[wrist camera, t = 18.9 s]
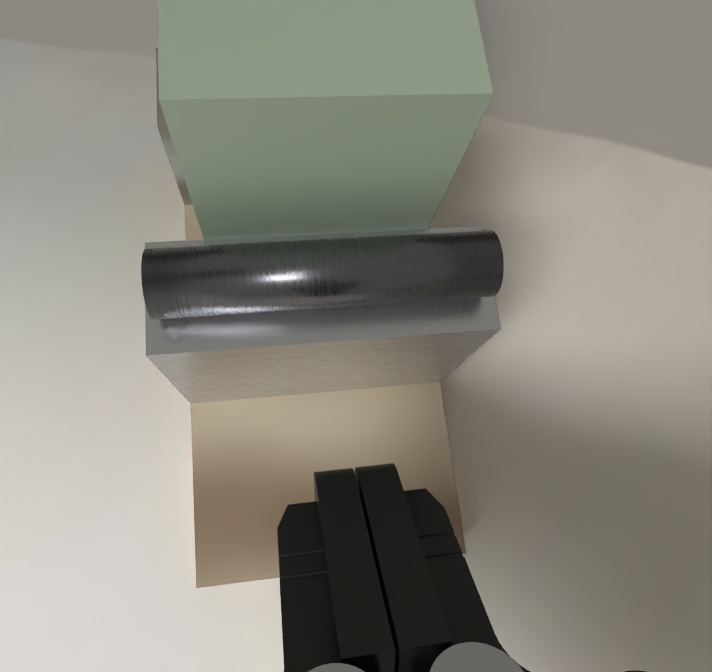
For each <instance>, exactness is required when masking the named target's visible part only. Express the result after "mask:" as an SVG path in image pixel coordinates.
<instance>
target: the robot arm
mask: <svg viewBox="0 0 712 672" xmlns="http://www.w3.org/2000/svg"><path fill="white" fill-rule="evenodd" d="M314 494H315V502H306V503H297V504H289V505H287V507H286V510H285V512H284V514H283V516H282V519H281V521H280V523H279V525H278V527H277V536H278V555H279V574H280V593H281V612H282V632H283V651H284V672H529V671H528V670H526V669H525V668H523V667H522V666H520V665H519V664H518V663H517V662H515V661H514V660H513V659H512V658H511V657H510V656H509V655H508V654H507V652H506V651H505V650H504V649H503V647H502V646H501V644H500V643H499V641H498V639H497V637H496V635H495V633H494V631H493V628H492V626H491V623H490V621H489V618H488V616H487V613H486V611H485V608H484V606H483V603H482V601H481V598H480V595H479V593H478V590H477V588H476V585H475V583H474V580H473V578H472V575H471V573H470V570H469V568H468V565H467V563H466V560H465V558H464V557H463V555H462V550H461V548H460V545H459V543H458V540H457V537H456V536H455V535H454V530H453V527H452V525H451V522H450V520H449V517H448V515H447V512H446V510H445V507H444V506H443V505H442V504H441V503H440V502H439V501H438V500H437V499H436V498H435V497H434V496H433V495H432V494H431V493H430V492H429V491H428V490H427V489H426V488H424V489H415V490H407V491H404V489H403V486H402V483H401V480H400V477H399V474H398V471H397V468H396V466H395V464H394V463H390V464H381V465H372V466H363V467H355V470H353V468H346V469H337V470H328V471H319V472H314ZM626 672H645V671H626Z"/></svg>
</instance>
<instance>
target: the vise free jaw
mask: <svg viewBox="0 0 712 672" xmlns="http://www.w3.org/2000/svg"><path fill="white" fill-rule="evenodd" d="M141 273H142V287H143V295H144V300H145V305H146V356H147V357H148V358H149V359H150V360H151V362H152V363H153V364H154V365H155V366H156V367H157V368H158V369H159V370H160V371H161V372H162V373H163V374H164V375H165V377H166V378H167V379H168V380H169V381H170V382H171V383H172V384H173V385H174V386H175V387H176V388H177V389H178V390H179V392H180V393H181V394H182V395H183V396H184V397H185V398H186V399H187V400H188V401H189V402H190V403H191V404H194V403H205V402H217V401H228V400H240V399H251V398H263V397H274V396H285V395H297V394H308V393H320V392H331V391H343V390H354V389H366V388H377V387H389V386H400V385H411V384H423V383H434V382H441V381H442V380H443V379H444V378H445V377H446V376H447V375H449V374H450V373H451V372H452V371H453V370H454V369H455V368H457V367H458V366H459V365H460V364H461V363H462V362H463V361H465V360H466V359H467V358H468V357H469V356H470V355H471V354H473V353H474V352H475V351H476V350H477V349H478V348H479V347H481V346H482V345H483V344H484V343H485V342H486V341H487V340H489V339H490V338H491V337H492V336H493V335H494V334H495V333H497V332H498V331H499V330H500V329H501V326H500V321H499V315H498V310H497V305H496V299H495V295H496V294H497V293H498V291H499V289H500V287H501V283H502V278H503V253H502V248H501V244H500V241H499V238H498V236H497V235H496V233H495V232H493V231H491V230H490V231H483V229H482V226H464V227H445V228H425V229H406V230H386V231H367V232H347V233H328V234H308V235H289V236H269V237H250V238H230V239H211V240H191V241H172V242H152V243H145V250H144V252H143V255H142V266H141Z"/></svg>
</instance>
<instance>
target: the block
mask: <svg viewBox="0 0 712 672" xmlns="http://www.w3.org/2000/svg"><path fill="white" fill-rule="evenodd" d="M157 20H158V77H159V102H160V105H161V108H162V111H163V114H164V117H165V120H166V123H167V127H168V130H169V133H170V136H171V139H172V142H173V145H174V148H175V151H176V155H177V158H178V161H179V164H180V167H181V170H182V173H183V176H184V179H185V183H186V186H187V189H188V192H189V195H190V198H191V201H192V204H193V207H194V211H195V214H196V217H197V220H198V223H199V226H200V229H201V232H202V235H203V238H204V240H211V239H230V238H250V237H269V236H289V235H308V234H328V233H347V232H367V231H386V230H406V229H425V228H429V226H430V224H431V222H432V220H433V218H434V216H435V214H436V212H437V209H438V207H439V205H440V203H441V201H442V199H443V197H444V195H445V193H446V191H447V189H448V187H449V185H450V183H451V180H452V178H453V176H454V174H455V172H456V170H457V168H458V166H459V164H460V162H461V160H462V158H463V156H464V154H465V152H466V149H467V147H468V145H469V143H470V141H471V139H472V137H473V135H474V133H475V131H476V129H477V127H478V125H479V123H480V120H481V118H482V116H483V114H484V112H485V110H486V108H487V106H488V104H489V102H490V99H491V98H492V96H493V93H494V92H493V88H492V83H491V78H490V73H489V69H488V64H487V59H486V54H485V49H484V44H483V40H482V35H481V30H480V25H479V20H478V15H477V10H476V6H475V1H474V0H157Z"/></svg>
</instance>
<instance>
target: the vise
mask: <svg viewBox="0 0 712 672" xmlns="http://www.w3.org/2000/svg"><path fill="white" fill-rule="evenodd" d="M156 59H157V119H158V129H159V132H160V135H161V138H162V141H163V144H164V147H165V150H166V152H167V155H168V158H169V161H170V164H171V167H172V170H173V173H174V175H175V178H176V181H177V184H178V187H179V190H180V193H181V196H182V198H183V201H184V204H185V229H186V241H191V240H204V238H203V235H202V232H201V229H200V226H199V223H198V220H197V217H196V214H195V211H194V207H193V204H192V201H191V198H190V195H189V192H188V189H187V186H186V183H185V179H184V176H183V173H182V170H181V167H180V164H179V161H178V158H177V155H176V151H175V148H174V145H173V142H172V139H171V136H170V133H169V130H168V127H167V123H166V120H165V117H164V114H163V111H162V108H161V105H160V102H159V77H158V47H157V48H156ZM191 425H192V458H193V490H194V523H195V556H196V588H200V587H207V586H215V585H223V584H231V583H239V582H246V581H254V580H262V579H270V578H278V577H280V574H279V555H278V536H277V527H278V525H279V523H280V521H281V519H282V516H283V514H284V512H285V510H286V507H287V505H289V504H297V503H306V502H315V494H314V472H319V471H328V470H337V469H346V468H353V470H355V467H363V466H372V465H381V464H390V463H394V464H395V466H396V468H397V471H398V474H399V477H400V480H401V483H402V486H403V489H404V491H407V490H415V489H424V488H426V489H427V490H428V491H429V492H430V493H431V494H432V495H433V496H434V497H435V498H436V499H437V500H438V501H439V502H440V503H441V504H442V505H443V506H444V507H445V510H446V512H447V515H448V517H449V520H450V522H451V525H452V527H453V530H454V535H455V536H456V537H457V540H458V543H459V545H460V548H461V550H462V554H465V553H466V550H465V543H464V537H463V530H462V524H461V517H460V510H459V504H458V497H457V491H456V484H455V478H454V471H453V464H452V458H451V451H450V445H449V438H448V432H447V425H446V418H445V412H444V405H443V399H442V392H441V386H440V382H434V383H423V384H411V385H400V386H389V387H377V388H366V389H354V390H343V391H331V392H320V393H308V394H297V395H285V396H274V397H263V398H251V399H240V400H228V401H217V402H205V403H194V404H191Z"/></svg>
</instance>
